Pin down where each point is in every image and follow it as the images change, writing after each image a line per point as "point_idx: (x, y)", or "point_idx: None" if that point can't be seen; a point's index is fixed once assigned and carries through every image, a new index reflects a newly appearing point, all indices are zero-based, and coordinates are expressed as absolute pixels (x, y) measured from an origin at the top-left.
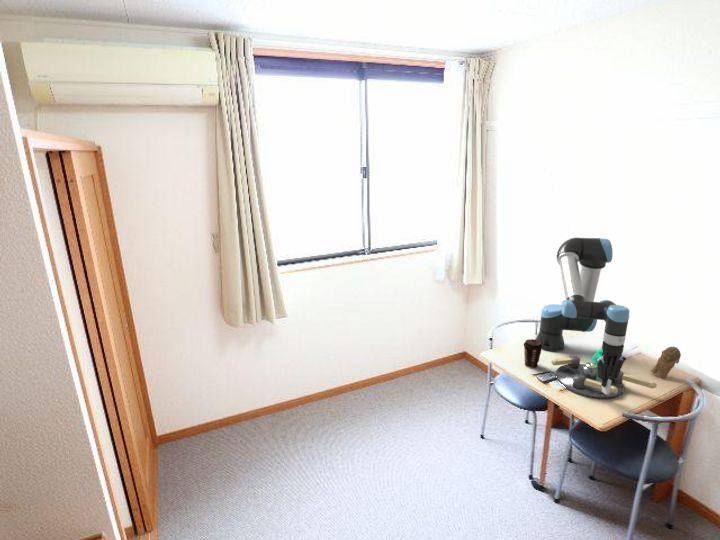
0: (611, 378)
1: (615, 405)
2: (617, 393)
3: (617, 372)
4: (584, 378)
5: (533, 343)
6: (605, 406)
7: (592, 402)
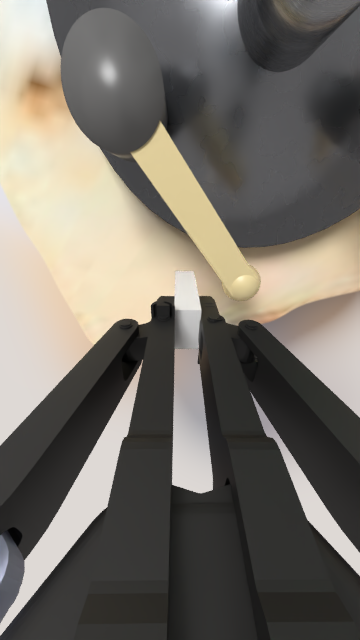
0: (199, 358)
1: (219, 285)
2: (283, 243)
3: (255, 395)
4: (140, 127)
5: None
6: None
7: (145, 247)
